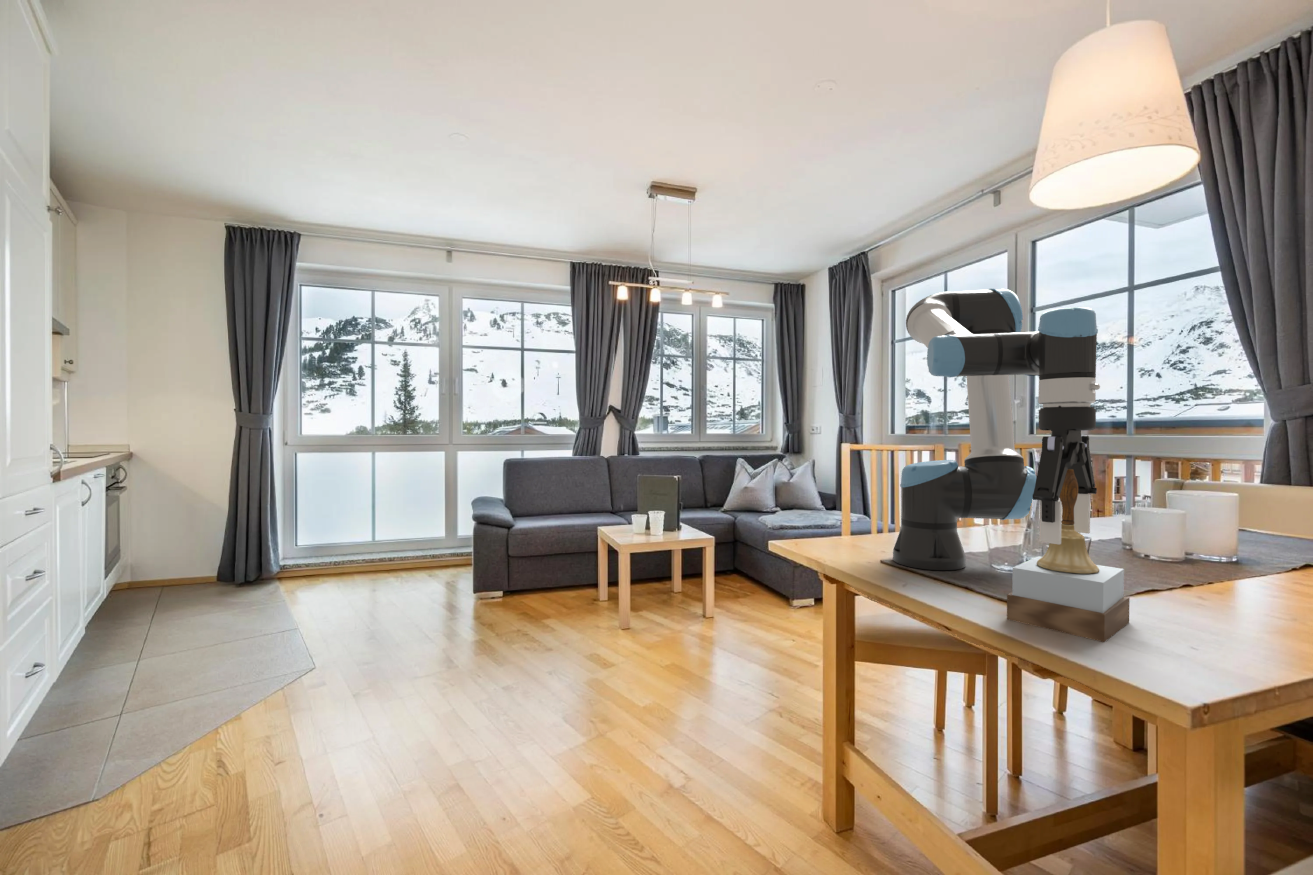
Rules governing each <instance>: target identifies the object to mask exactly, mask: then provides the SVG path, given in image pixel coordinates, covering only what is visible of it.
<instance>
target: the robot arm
mask: <svg viewBox="0 0 1313 875" xmlns="http://www.w3.org/2000/svg"><path fill="white" fill-rule="evenodd" d="M1023 317H1024V316H1023V309H1022V305H1021V302H1020V298H1019V297H1018V295H1017V294H1016V293H1015V292H1013V291H1012V290H1010V289H1007V288H1006V289H1005V288H1001V289H997V288H987V289H976V290H962V291H961V290H960V291H943V292H942V291H941V292H938V293H937V292H936V293H933V294H930V295H929V296H925V297H924V298H922V299H920V300H919V301H918V302H916V303H915V304H914V305H912V307H910V309H909V311H908V313H907V315H906V318H905V329H906V331H907V333H908V334H909V336H910V338H912V340H914V341H915V342H917V343H919V344H923V345H924V346H925V347H926V348H927V353H926V359H927V360H926V363H927V364H926V365H927V367H928V368H927V369H928V372H929V374H930V375H931V376H933V377H947V378H955V377H966V386H967V387H966V389H967V402H968V404H967V406H968V421H969V437H970V438H969V439H970V453H969V454H968V455H967V456H966V457H965V458H964V463H963V464H964V465H963V466H959V463H958V462H957V461H956V460H954V459H942V460H939V459H938V460H928V461H920V462H915V463H914V462H913V463H910V464H907V465H905V466H904V467H903V468H902V470H901V475H900V477H901V478H900V484H899V486H900V490H901V491H900V493H901V494H900V499H901V500H900V501H901V503H900V514H901V515H900V530H899V533H898V535H897V538H896V541H895V544H894V546H893V550H892V560H893V562H895V563H896V564H899V565H901V566H905V567H909V568H915V569H921V570H930V571H955V570H961V569H964V568H966V567H967V566H966V564H967V562H966V560H967V559H966V558H967V557H966V553H965V550H964V547H963V545H962V541H961V539H960V536H959V532H958V519H986V520H989V519H990V520H1000V521H1006V520H1021V519H1024V518H1025V517H1027V516H1028V515H1029V514H1030V513H1029V511H1030V506H1031V503H1032V499H1033V500H1035V501H1039V538H1038V539H1039V540H1038V541H1039V543H1045V544H1049V543H1052V544H1059V545H1060V544H1061V524H1062V523H1061V521H1062V502H1061V501H1060V498H1059V497H1060V493H1061V490H1062V486H1063V483H1064V480H1065V476H1066V473H1067V469H1073V470H1074V474H1075V477H1076V479H1077V483H1078V496H1077V500H1076V503H1075V506H1074V530H1075V531H1076V532H1078V533H1079V534H1091V494H1093V495H1096V494H1097V493H1098V488H1097V487H1096V483H1095V477H1094V470H1093V464H1092V457H1091V452H1090V436H1089V434H1087V435H1086V434H1085V435H1084V434H1082V431H1094V430H1095V429H1096V427H1097V424H1096V423H1097V421H1096V420H1097V419H1096V418H1097V415H1096V414H1097V409H1096V408H1095V406H1092V405H1091V404H1095V402H1096V398H1097V397H1096V391H1099V390H1100V389H1101V385H1100V384H1099V383H1097V382H1096V378H1097V342H1098V341H1097V340H1098V339H1097V338H1098V337H1097V336H1098V335H1097V334H1098V333H1099V330H1098V328H1097V327H1098V326H1097V314H1096V312H1095V310H1094V309H1093V308H1090V307H1087V306H1086V307H1083V306H1081V307H1079V306H1077V307H1076V306H1075V307H1064V308H1063V307H1062V308H1056V309H1051V310H1047V311H1045V312H1043V313H1042V314H1041V315H1040V318H1039V324H1038V328H1037V331H1025V332H1023V331H1022V329H1023V322H1022V320H1024V319H1023ZM1021 331H1022V332H1021ZM1019 375H1023V376H1028V377H1035V376H1037V377H1038V404H1039V405H1042V408H1041V407H1040V409H1038V429H1039V430H1041V431H1051V434H1050V436H1043V437H1042V439H1041V453H1040V457H1039V458H1040V459H1039V463H1038V468H1037V473H1036V471H1035V470H1034V468H1032V467H1031V466H1029V465H1028V466H1027V465H1026V466H1025V458H1024V456H1022V455H1021V454H1020V453H1019V452H1017V451H1016V449H1015V435H1014V422H1013V412H1012V408H1013V407H1012V398H1011V397H1012V396H1011V385H1010V376H1019ZM1036 474H1037V475H1036ZM1030 512H1031V511H1030Z"/></svg>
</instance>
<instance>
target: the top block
mask: <svg viewBox="0 0 1313 875" xmlns="http://www.w3.org/2000/svg"><path fill="white" fill-rule="evenodd" d="M1042 557H1043V556H1034V557H1033V558H1031V559H1029V560H1027V561H1026V560H1025V562H1022V563H1019V564H1017V565H1015V566H1013V567H1012V569H1011V570H1012V574H1011V578H1012V579H1011V580H1012V583H1011V584H1012V588H1011V589H1012V591H1011V592H1012V595H1015V596H1020V597H1025V598H1030V599H1035V600H1040V601H1045V602H1050V603H1055V604H1060V605H1065V606H1070V607H1075V608H1080V609H1085V610H1090V611H1095V612H1100V613H1104V612H1105V611H1107V610H1108V609H1109V608H1110V607H1112V606H1113V605H1114V604H1115V603H1117V602H1118V601H1119V600H1120V599H1122V598H1123V597H1125V596H1124V595H1125V594H1124V591H1125V588H1124V587H1125V568H1120V567H1114V566H1107V565H1100V564H1095V565H1096V566H1097V567H1098V568H1099V572H1097V573H1090V574H1080V573H1068V572H1060V571H1054V570H1050V569H1046V568H1043V567H1040V566H1038V565H1037V561H1038V560H1039V559H1041V558H1042Z"/></svg>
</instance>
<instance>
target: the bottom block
mask: <svg viewBox="0 0 1313 875" xmlns="http://www.w3.org/2000/svg"><path fill="white" fill-rule="evenodd" d="M1130 599H1131V598H1130V596H1124V597H1123V598H1122V599H1120V600H1119V601H1118V602H1117V603H1115V604H1114V605H1113V606H1112V607H1110V608H1109V609H1108V610H1107V611H1105V612H1104V613H1100V612H1095V611H1090V610H1085V609H1080V608H1075V607H1070V606H1065V605H1060V604H1055V603H1050V602H1045V601H1040V600H1035V599H1030V598H1025V597H1020V596H1015V595H1012V591H1011V592H1009V593H1007V594H1006V620H1008V621H1012V622H1018V623H1022V624H1026V625H1030V626H1035V627H1039V628H1042V629H1048V630H1052V631H1056V632H1060V633H1064V634H1069V635H1072V636H1077V637H1081V638H1084V639H1085V638H1086V639H1089V640H1093V641H1098V642H1102V643H1105V642H1107V641H1108V640H1109V639H1110V638H1112V637H1113V636H1114V635H1116V634H1117V633H1119V631H1120V630H1122V629H1123V628H1124V627H1125V626H1127V625H1128V624H1129V623H1130Z"/></svg>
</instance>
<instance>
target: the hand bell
mask: <svg viewBox="0 0 1313 875" xmlns="http://www.w3.org/2000/svg"><path fill="white" fill-rule="evenodd" d="M1077 496H1078V483H1077V479H1076V477H1075V474H1074V470H1073V469H1067V473H1066V476H1065V480H1064V483H1063V486H1062V490H1061V493H1060V497H1059V501H1061V502H1062V516H1061V544H1060V545H1059V544H1052V543H1048V547H1047V550H1046V552H1045V553H1044V555H1043V556H1041V557H1042V558H1041V559H1039V560H1038V561H1037V565H1038V566H1040V567H1043V568H1046V569H1050V570H1054V571H1060V572H1068V573H1080V574H1090V573H1097V572H1099V568H1098V567H1097V566H1096V565H1097V564H1095V563H1094V561H1093V560H1092V559H1091V557H1090V555H1089V553H1088V550H1087V545H1086V539H1085V536H1084V535H1083V534H1082V533H1079V532H1076V531H1075V530H1074V506H1075V503H1076V500H1077Z"/></svg>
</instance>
